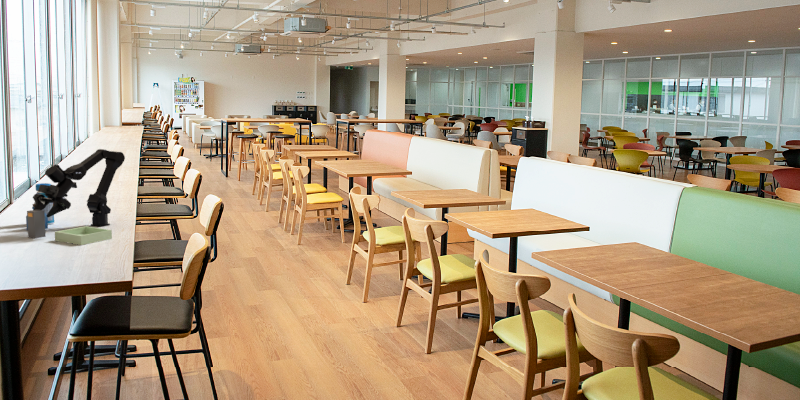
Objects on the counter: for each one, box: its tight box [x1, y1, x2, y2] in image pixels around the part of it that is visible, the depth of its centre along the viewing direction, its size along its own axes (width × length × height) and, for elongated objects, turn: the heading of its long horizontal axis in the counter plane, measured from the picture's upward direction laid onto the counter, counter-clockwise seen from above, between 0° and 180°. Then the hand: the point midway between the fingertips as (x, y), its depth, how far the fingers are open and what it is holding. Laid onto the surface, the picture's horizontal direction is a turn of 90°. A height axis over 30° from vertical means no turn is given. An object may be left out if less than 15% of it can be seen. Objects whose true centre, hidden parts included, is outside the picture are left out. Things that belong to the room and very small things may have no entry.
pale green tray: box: [54, 226, 113, 246], centre depth 268 cm, size 16×16×4 cm
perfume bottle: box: [25, 203, 49, 230], centre depth 286 cm, size 6×6×12 cm
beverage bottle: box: [33, 183, 55, 226], centre depth 298 cm, size 8×8×20 cm
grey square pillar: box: [26, 209, 46, 239], centre depth 269 cm, size 5×4×12 cm
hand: (40, 215), depth 270 cm, fingers open, 9 cm apart
